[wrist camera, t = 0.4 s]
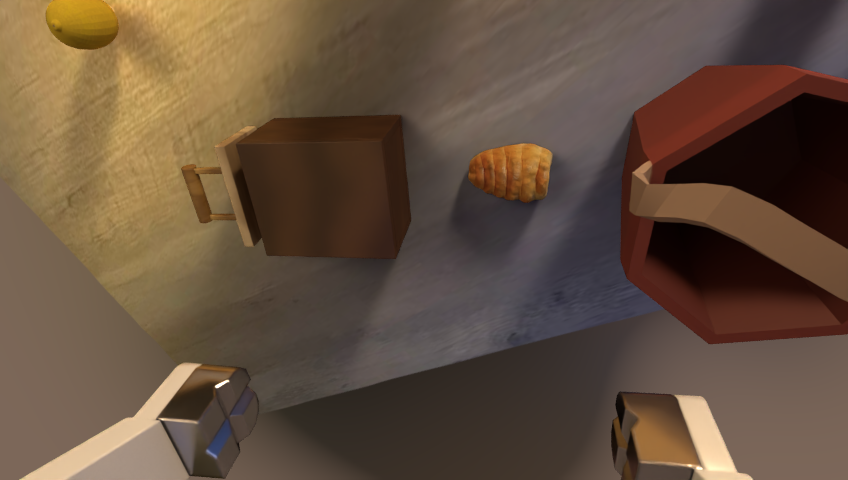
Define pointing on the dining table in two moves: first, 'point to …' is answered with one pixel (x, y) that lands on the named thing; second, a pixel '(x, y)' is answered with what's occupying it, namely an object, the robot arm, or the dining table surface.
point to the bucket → (742, 203)
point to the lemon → (82, 23)
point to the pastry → (512, 172)
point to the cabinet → (329, 185)
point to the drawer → (234, 184)
